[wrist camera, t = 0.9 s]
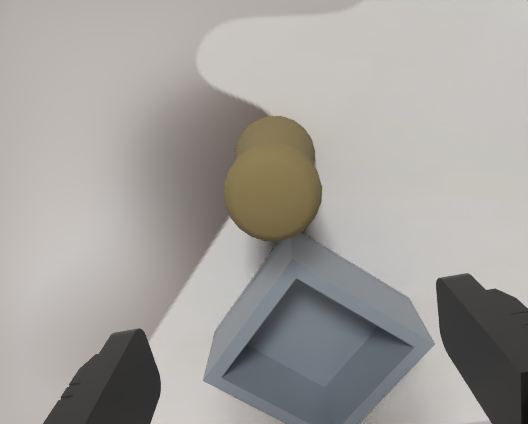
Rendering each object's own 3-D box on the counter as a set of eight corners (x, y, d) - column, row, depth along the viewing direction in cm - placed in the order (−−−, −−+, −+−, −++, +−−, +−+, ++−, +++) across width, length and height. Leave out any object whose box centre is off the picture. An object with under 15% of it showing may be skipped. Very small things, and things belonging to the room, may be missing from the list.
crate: (289, 225, 32) (291, 259, 26) (408, 297, 34) (435, 344, 28) (215, 331, 35) (202, 380, 30) (326, 391, 37) (334, 448, 32)
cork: (331, 157, 30) (359, 203, 20) (274, 210, 31) (271, 279, 21) (275, 97, 29) (272, 114, 18) (218, 156, 30) (185, 202, 20)
